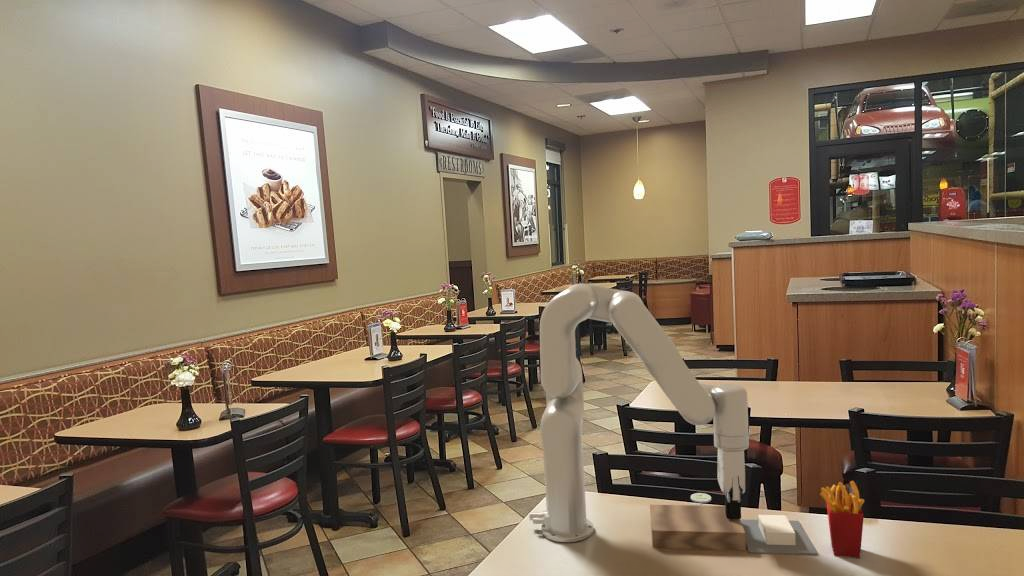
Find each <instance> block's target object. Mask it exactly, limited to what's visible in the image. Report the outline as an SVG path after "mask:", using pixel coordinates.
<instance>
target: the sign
mask: <svg viewBox="0 0 1024 576" xmlns="http://www.w3.org/2000/svg"><path fill="white" fill-rule="evenodd" d="M690 500H691V501H692V502H696V503H698V504H699V503H700V506H703V504H706V503H709V502H711V501H712V496H711V495H709V494H707V493H705V492H703V493H702V492H696V493H693V494H691V495H690Z"/></svg>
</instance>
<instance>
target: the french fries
mask: <svg viewBox="0 0 1024 576" xmlns="http://www.w3.org/2000/svg"><path fill="white" fill-rule="evenodd" d="M849 483H850V486H851V488H852V491H853V493H854V494H853V493H851V492H848V491H847V488H846V485H844V483H842V482H840V481H839V482H838V484H837V485H836V484H833V485H832V486H831V487H829V486H825V488H824V487H823V486H822V487H821V489H820V491H821V492H819V495H820V496H821V497H822V499H823V500H824V501H825V503H826V510H827V517H828V518H827V519H828V525H829V527H828V528H829V537H830V545H831V548H832V553H833V555H834V557H843V558H852V559H861V554H862V553H861V550H862V539H863V529H864V518H865V517H864V512H863V510H862V506H863V504H865V499H863V498H860V491H859V488H858V487H857V485H856V483H855V481H854V480H851V481H849ZM834 493H835V495H834ZM840 493H841V500H840Z"/></svg>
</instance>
